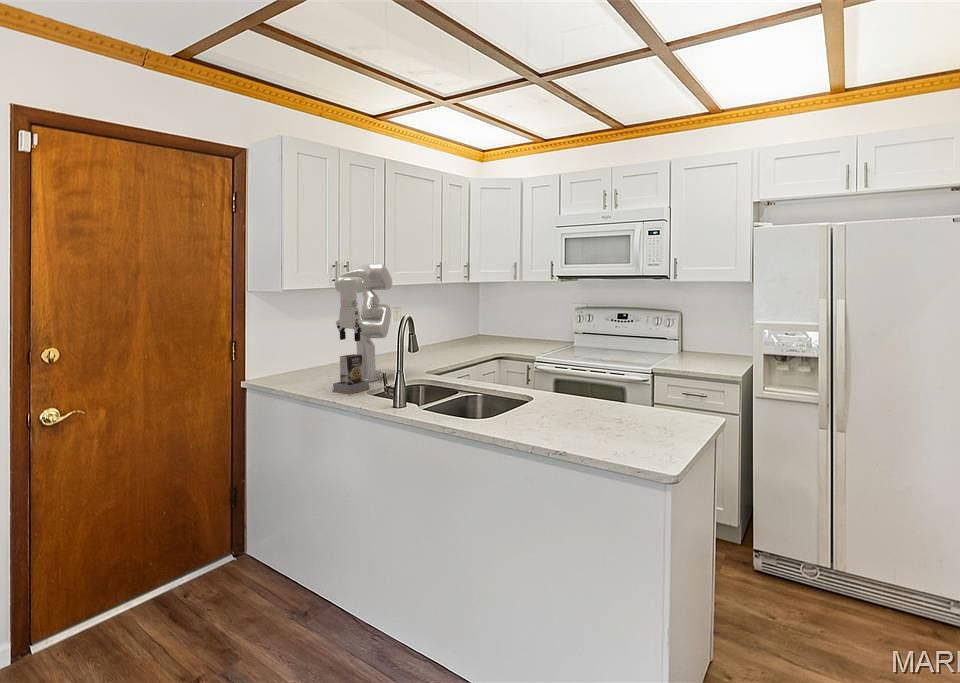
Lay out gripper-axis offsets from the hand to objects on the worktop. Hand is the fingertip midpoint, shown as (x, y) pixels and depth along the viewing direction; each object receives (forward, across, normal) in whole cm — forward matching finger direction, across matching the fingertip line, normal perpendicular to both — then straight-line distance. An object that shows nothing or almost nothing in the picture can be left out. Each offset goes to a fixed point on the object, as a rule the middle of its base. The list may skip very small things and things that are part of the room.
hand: (350, 340), depth 271 cm
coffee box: (+24, -1, 0) cm, 24 cm away
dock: (+24, 0, +1) cm, 24 cm away
